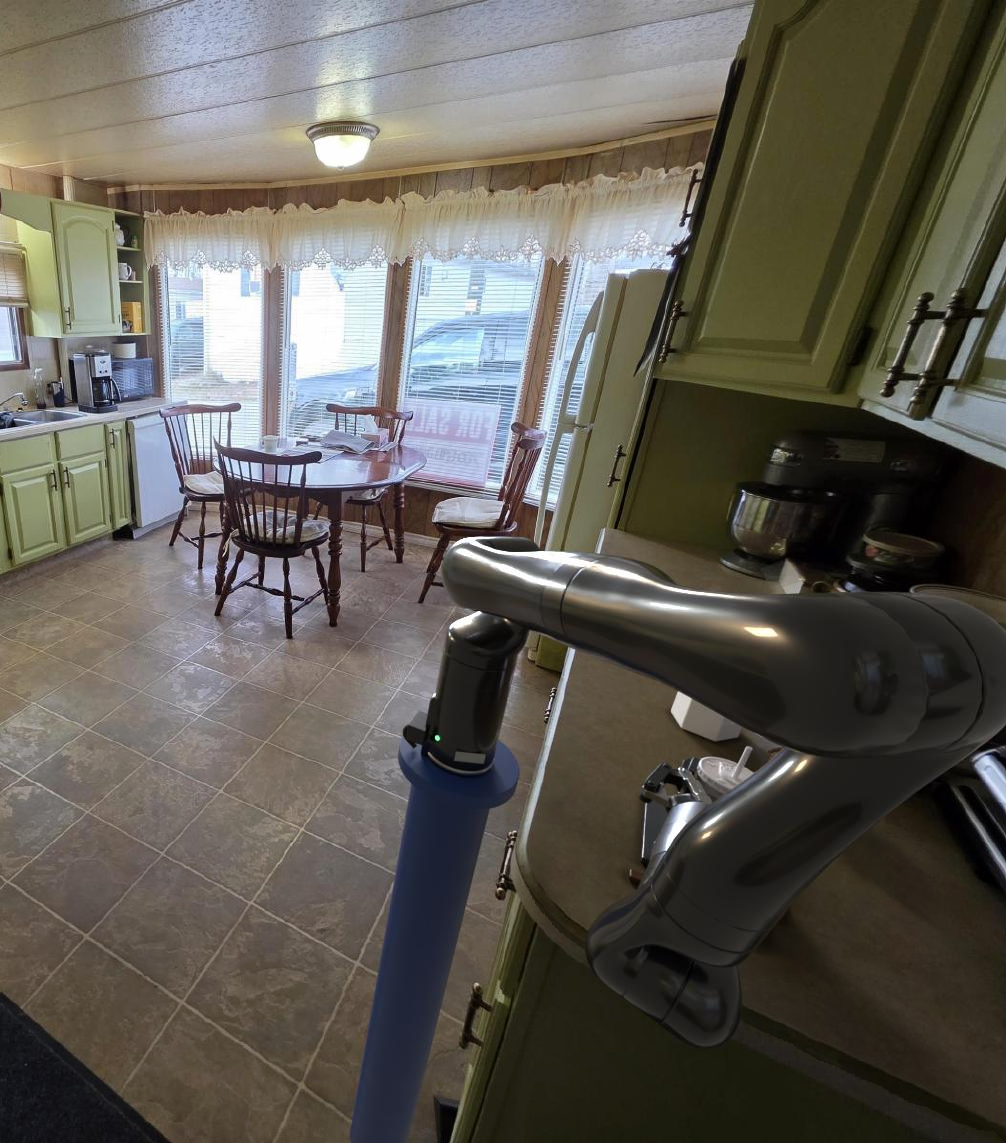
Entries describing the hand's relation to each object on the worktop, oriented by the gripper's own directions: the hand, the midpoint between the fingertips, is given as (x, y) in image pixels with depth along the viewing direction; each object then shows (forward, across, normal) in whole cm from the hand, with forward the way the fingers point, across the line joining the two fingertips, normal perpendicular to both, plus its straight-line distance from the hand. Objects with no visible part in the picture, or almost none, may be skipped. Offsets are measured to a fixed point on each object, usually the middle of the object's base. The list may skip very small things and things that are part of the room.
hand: (729, 778), depth 72 cm
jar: (+27, +5, +9) cm, 29 cm away
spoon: (-13, -1, +9) cm, 15 cm away
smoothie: (-2, 0, +8) cm, 8 cm away
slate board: (-4, -1, +9) cm, 10 cm away
